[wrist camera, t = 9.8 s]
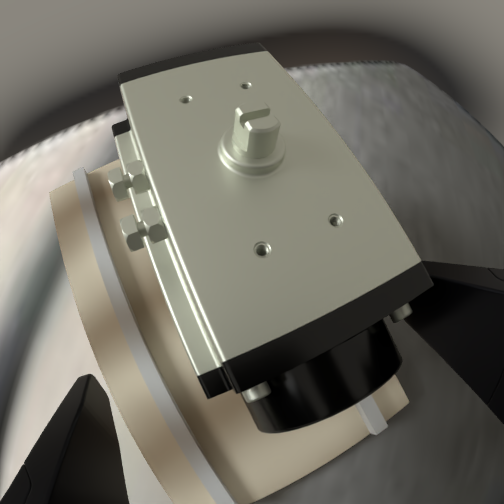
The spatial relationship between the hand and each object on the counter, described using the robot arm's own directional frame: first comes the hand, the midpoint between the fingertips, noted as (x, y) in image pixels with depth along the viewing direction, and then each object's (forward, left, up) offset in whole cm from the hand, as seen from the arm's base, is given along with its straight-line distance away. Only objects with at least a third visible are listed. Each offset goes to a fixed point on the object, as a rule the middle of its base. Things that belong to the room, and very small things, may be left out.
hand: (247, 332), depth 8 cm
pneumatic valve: (+3, -1, -8) cm, 9 cm away
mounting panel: (+3, 0, -9) cm, 9 cm away
